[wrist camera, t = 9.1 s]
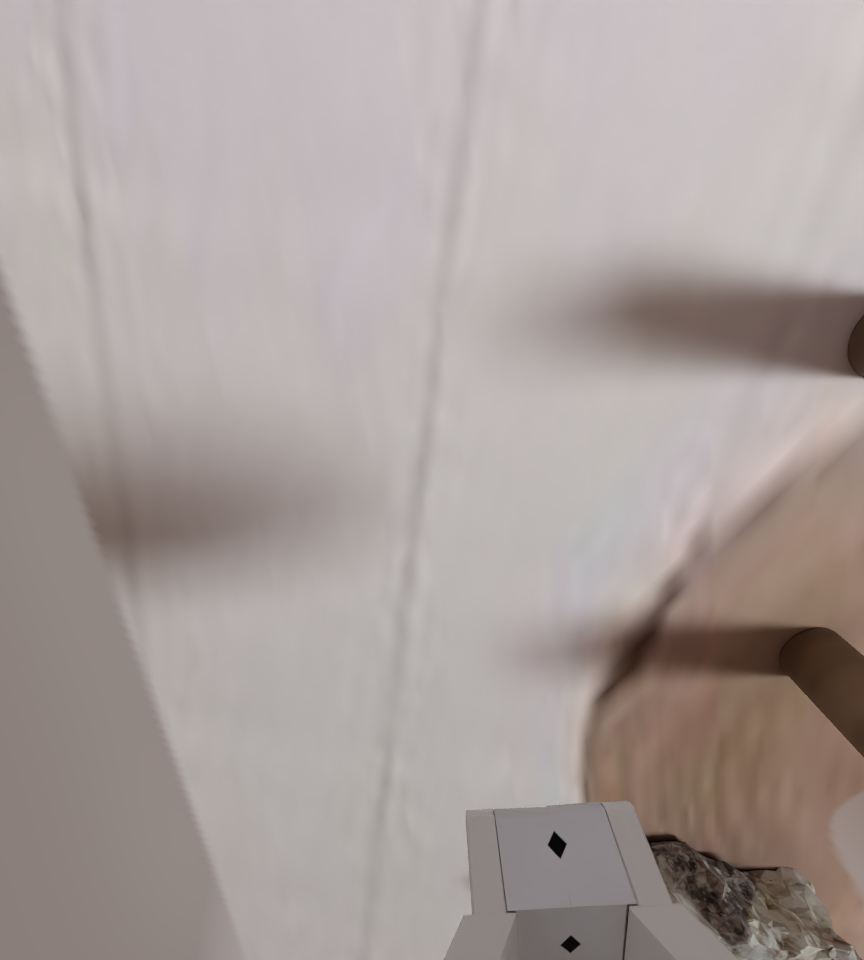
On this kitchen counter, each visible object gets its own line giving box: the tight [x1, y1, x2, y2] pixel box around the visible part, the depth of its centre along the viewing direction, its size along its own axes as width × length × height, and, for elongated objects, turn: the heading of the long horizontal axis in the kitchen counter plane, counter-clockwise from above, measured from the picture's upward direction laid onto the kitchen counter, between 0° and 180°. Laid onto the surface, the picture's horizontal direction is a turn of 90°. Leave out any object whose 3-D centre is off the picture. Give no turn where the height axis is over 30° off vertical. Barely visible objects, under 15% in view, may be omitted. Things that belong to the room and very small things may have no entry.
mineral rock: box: [649, 841, 862, 960], centre depth 23 cm, size 15×8×4 cm, turn 66°
